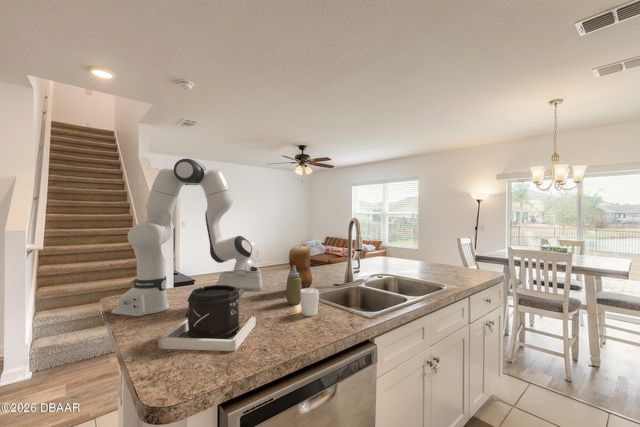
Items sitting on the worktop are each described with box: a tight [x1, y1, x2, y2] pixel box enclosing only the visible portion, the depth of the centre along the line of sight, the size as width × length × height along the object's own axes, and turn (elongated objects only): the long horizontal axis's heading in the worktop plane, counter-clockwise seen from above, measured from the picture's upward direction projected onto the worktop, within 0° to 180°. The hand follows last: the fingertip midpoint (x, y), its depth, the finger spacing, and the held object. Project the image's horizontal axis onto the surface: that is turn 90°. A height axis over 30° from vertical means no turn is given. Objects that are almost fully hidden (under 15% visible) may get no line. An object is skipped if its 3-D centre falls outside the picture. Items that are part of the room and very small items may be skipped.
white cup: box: [300, 287, 320, 317], centre depth 129 cm, size 8×8×10 cm
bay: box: [158, 316, 257, 352], centre depth 106 cm, size 25×22×3 cm
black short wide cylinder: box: [185, 284, 240, 339], centre depth 107 cm, size 18×18×16 cm
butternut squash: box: [286, 245, 313, 289], centre depth 164 cm, size 14×13×25 cm
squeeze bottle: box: [285, 265, 302, 306], centre depth 143 cm, size 8×8×18 cm
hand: (235, 299), depth 129 cm, fingers closed
